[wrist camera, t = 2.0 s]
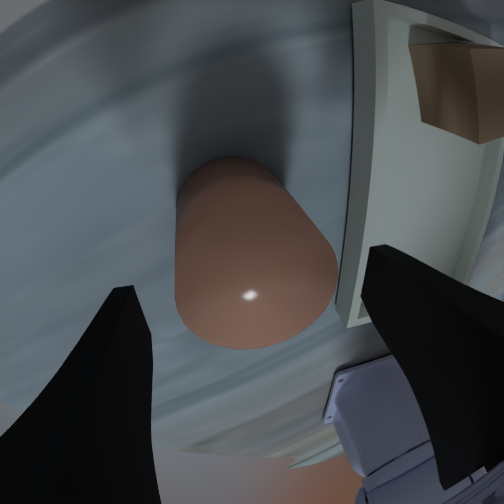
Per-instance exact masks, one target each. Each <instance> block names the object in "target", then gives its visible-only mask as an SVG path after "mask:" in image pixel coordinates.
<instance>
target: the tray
mask: <svg viewBox="0 0 504 504" xmlns="http://www.w3.org/2000/svg"><path fill="white" fill-rule="evenodd" d="M352 17H353V38H354V126H353V149H352V166H351V181H350V194H349V205H348V216H347V226H346V235H345V244H344V252H343V260H342V267H341V275H340V282H339V289H338V295H337V302H336V308H335V309H336V311H337V313H338V314H339V316H340V318H341V319H342V321H343V323H344V325H345V326H346V328H351V327H354V326H358V325H362V324H366V323H369V322H372V321H371V319H370V317H369V314H368V312H367V310H366V308H365V306H364V304H363V301H362V299H361V297H360V295H361V290H362V285H363V280H364V275H365V270H366V265H367V259H368V254H369V248H370V247H371V246H377V245H383V244H387V245H389V246H392V247H394V248H396V249H398V250H400V251H402V252H404V253H406V254H408V255H410V256H412V257H414V258H416V259H418V260H420V261H421V262H423V263H425V264H427V265H429V266H431V267H433V268H434V269H436V270H438V271H440V272H442V273H444V274H446V275H447V276H449V277H451V278H453V279H455V280H457V281H459V282H461V283H463V284H465V285H467V283H468V280H469V278H470V275H471V272H472V270H473V267H474V264H475V261H476V259H477V256H478V253H479V250H480V247H481V244H482V241H483V237H484V234H485V231H486V228H487V224H488V221H489V217H490V213H491V210H492V206H493V202H494V198H495V194H496V189H497V185H498V180H499V176H500V171H501V165H502V160H503V154H504V137H501V138H498V139H495V140H492V141H489V142H486V143H483V144H480V145H479V144H476V143H474V142H472V141H469V140H467V139H465V138H462V137H460V136H457V135H455V134H452V133H450V132H447V131H445V130H442V129H440V128H437V127H434V126H431V125H429V124H426V123H423V122H421V115H420V107H419V100H418V94H417V88H416V82H415V76H414V71H413V66H412V61H411V56H410V52H409V47H408V45H412V44H425V43H446V42H464V43H474V44H483V45H491V46H498V47H504V46H502V45H500V44H498V43H497V42H495V41H493V40H491V39H489V38H487V37H484V36H482V35H480V34H478V33H476V32H474V31H472V30H469V29H467V28H465V27H462V26H460V25H458V24H455V23H453V22H450V21H447V20H445V19H442V18H440V17H437V16H434V15H431V14H428V13H425V12H422V11H419V10H416V9H413V8H410V7H406V6H403V5H400V4H396V3H392V2H388V1H385V0H363V1H359V2H356V3H352Z"/></svg>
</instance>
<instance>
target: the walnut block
mask: <svg viewBox="0 0 504 504" xmlns="http://www.w3.org/2000/svg"><path fill="white" fill-rule="evenodd" d="M408 47H409V52H410V56H411V61H412V66H413V71H414V76H415V82H416V88H417V94H418V100H419V107H420V115H421V122H423V123H426V124H429V125H431V126H434V127H437V128H440V129H442V130H445V131H447V132H450V133H452V134H455V135H457V136H460V137H462V138H465V139H467V140H469V141H472V142H474V143H476V144H479V145H480V144H483V143H486V142H489V141H492V140H495V139H498V138H501V137H504V47H498V46H491V45H483V44H474V43H464V42H446V43H425V44H412V45H408Z"/></svg>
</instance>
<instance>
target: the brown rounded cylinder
mask: <svg viewBox="0 0 504 504" xmlns="http://www.w3.org/2000/svg"><path fill="white" fill-rule="evenodd" d="M337 280H338V264H337V259H336V256H335V253H334V251H333V249H332V247H331V245H330V244H329V243H328V241H327V240H326V238H325V237H324V236H323V235H322V233H321V232H320V231H319V229H318V228H317V227H316V226H315V224H314V223H313V222H312V221H311V219H310V218H309V217H308V216H307V214H306V213H305V212H304V211H303V209H302V208H301V207H300V206H299V204H298V203H297V202H296V201H295V199H294V198H293V197H292V196H291V194H290V193H289V192H288V191H287V190H286V188H285V187H284V186H283V185H282V184H281V182H280V181H279V180H278V179H277V178H276V176H275V175H274V174H273V173H272V172H271V171H270V170H269V169H268V168H267V167H265V166H264V165H262V164H261V163H259V162H257V161H254V160H251V159H248V158H244V157H224V158H219V159H216V160H212V161H210V162H208V163H206V164H204V165H202V166H201V167H199V168H198V169H197V170H195V171H194V172H193V173H192V174H191V175H190V176H189V177H188V178H187V180H186V181H185V183H184V184H183V186H182V188H181V190H180V192H179V195H178V199H177V204H176V233H175V301H176V307H177V310H178V312H179V315H180V317H181V318H182V320H183V322H184V323H185V324H186V326H187V327H188V328H189V329H190V330H191V331H192V332H193V333H194V334H196V335H197V336H199V337H200V338H202V339H203V340H205V341H207V342H209V343H212V344H215V345H217V346H221V347H225V348H232V349H255V348H262V347H267V346H271V345H274V344H277V343H280V342H283V341H285V340H287V339H289V338H291V337H293V336H295V335H297V334H298V333H300V332H302V331H303V330H305V329H306V328H307V327H308V326H310V325H311V324H312V323H313V322H314V321H315V320H316V319H317V318H318V317H319V316H320V315H321V314H322V313H323V311H324V310H325V309H326V307H327V306H328V304H329V303H330V301H331V299H332V297H333V294H334V292H335V289H336V285H337Z"/></svg>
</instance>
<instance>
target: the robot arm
mask: <svg viewBox="0 0 504 504" xmlns="http://www.w3.org/2000/svg"><path fill="white" fill-rule="evenodd" d="M360 297H361V299H362V301H363V304H364V306H365V308H366V310H367V312H368V314H369V317H370V319H371V321H372V322H373V324H374V326H375V327H376V329H377V331H378V332H379V334H380V335H381V337H382V339H383V340H384V342H385V343H386V345H387V347H388V348H389V350H390V351H391V353H392V355H389V356H386V357H383V358H380V359H377V360H374V361H371V362H368V363H365V364H361V365H358V366H355V367H352V368H348V369H345V370H341V371H339V372H337V373H336V375H335V377H334V381H333V385H332V389H331V392H330V396H329V399H328V403H327V406H326V410H325V413H324V417H323V420H322V421H323V423H324V424H327V423H330V422H333V424H334V426H335V429H336V431H337V434H338V436H339V439H340V441H341V444H342V446H343V449H344V451H345V453H346V456H347V458H348V461H349V463H350V465H351V467H352V468H353V469H354V471H356V472H357V473H358V474H360V475H361V476H364V477H366V478H364V479H362V483H363V487H361V488H360V489H359V490H358V494H357V496H356V499H355V504H504V302H503V301H500V300H498V299H496V298H493V297H491V296H489V295H486V294H484V293H482V292H479V291H477V290H475V289H473V288H471V287H469V286H467V285H465V284H463V283H461V282H459V281H457V280H455V279H453V278H451V277H449V276H447V275H446V274H444V273H442V272H440V271H438V270H436V269H434V268H433V267H431V266H429V265H427V264H425V263H423V262H421V261H420V260H418V259H416V258H414V257H412V256H410V255H408V254H406V253H404V252H402V251H400V250H398V249H396V248H394V247H392V246H389V245H387V244H383V245H377V246H371V247H370V248H369V254H368V259H367V265H366V270H365V275H364V280H363V285H362V290H361V295H360ZM152 377H153V354H152V338H151V332H150V330H149V327H148V325H147V322H146V319H145V317H144V314H143V311H142V309H141V306H140V303H139V300H138V297H137V295H136V292H135V289H134V286H133V285H131V286H124V287H117V288H113V290H112V291H111V293H110V294H109V296H108V297H107V299H106V300H105V302H104V303H103V305H102V306H101V308H100V309H99V311H98V312H97V314H96V315H95V317H94V318H93V320H92V322H91V323H90V325H89V326H88V328H87V329H86V331H85V332H84V334H83V335H82V337H81V338H80V340H79V341H78V343H77V344H76V346H75V347H74V349H73V350H72V351H71V353H70V354H69V356H68V357H67V359H66V360H65V362H64V363H63V364H62V366H61V367H60V369H59V370H58V371H57V373H56V374H55V375H54V377H53V378H52V379H51V381H50V382H49V383H48V384H47V386H46V387H45V388H44V389H43V391H42V392H41V393H40V394H39V396H38V397H37V398H36V399H35V400H34V401H33V403H32V404H31V405H30V406H29V407H28V408H27V409H26V410H25V411H24V413H23V414H22V415H21V416H20V417H19V418H18V419H17V420H16V421H15V423H14V424H13V425H12V426H11V427H10V428H9V429H8V430H7V431H6V432H5V433H4V434H3V435H2V436H1V437H0V504H161V500H160V495H159V490H158V484H157V479H156V473H155V466H154V459H153V452H152V451H153V450H152V442H151V403H152ZM483 466H484V467H485V469H486V471H487V473H486V474H484V471H483V469H482V467H483Z"/></svg>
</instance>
